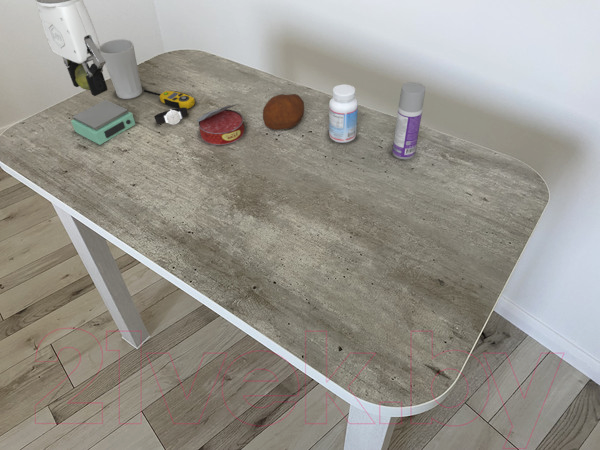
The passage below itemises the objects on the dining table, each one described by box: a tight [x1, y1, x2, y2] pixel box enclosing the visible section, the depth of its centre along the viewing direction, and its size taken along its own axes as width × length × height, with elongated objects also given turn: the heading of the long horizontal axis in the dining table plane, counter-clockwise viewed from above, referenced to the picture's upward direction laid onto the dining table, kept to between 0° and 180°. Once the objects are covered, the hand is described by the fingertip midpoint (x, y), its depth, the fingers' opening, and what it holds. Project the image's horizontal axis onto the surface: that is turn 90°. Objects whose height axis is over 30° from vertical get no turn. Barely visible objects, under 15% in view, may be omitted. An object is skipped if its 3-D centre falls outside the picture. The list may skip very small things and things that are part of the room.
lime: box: [75, 64, 90, 91], centre depth 92 cm, size 4×5×5 cm
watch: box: [154, 108, 189, 125], centre depth 111 cm, size 8×5×4 cm, turn 118°
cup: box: [100, 38, 143, 100], centre depth 118 cm, size 8×8×12 cm
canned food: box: [196, 103, 245, 146], centre depth 106 cm, size 11×10×10 cm
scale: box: [70, 111, 136, 146], centre depth 110 cm, size 10×9×3 cm
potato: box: [262, 93, 305, 131], centre depth 107 cm, size 8×11×8 cm
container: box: [391, 81, 426, 160], centre depth 96 cm, size 5×5×15 cm
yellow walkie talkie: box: [143, 89, 196, 110], centre depth 119 cm, size 5×2×15 cm
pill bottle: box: [328, 83, 359, 144], centre depth 102 cm, size 6×6×11 cm
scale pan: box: [72, 99, 130, 131], centre depth 108 cm, size 9×8×1 cm
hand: (90, 87), depth 94 cm, fingers closed on lime, 5 cm apart
